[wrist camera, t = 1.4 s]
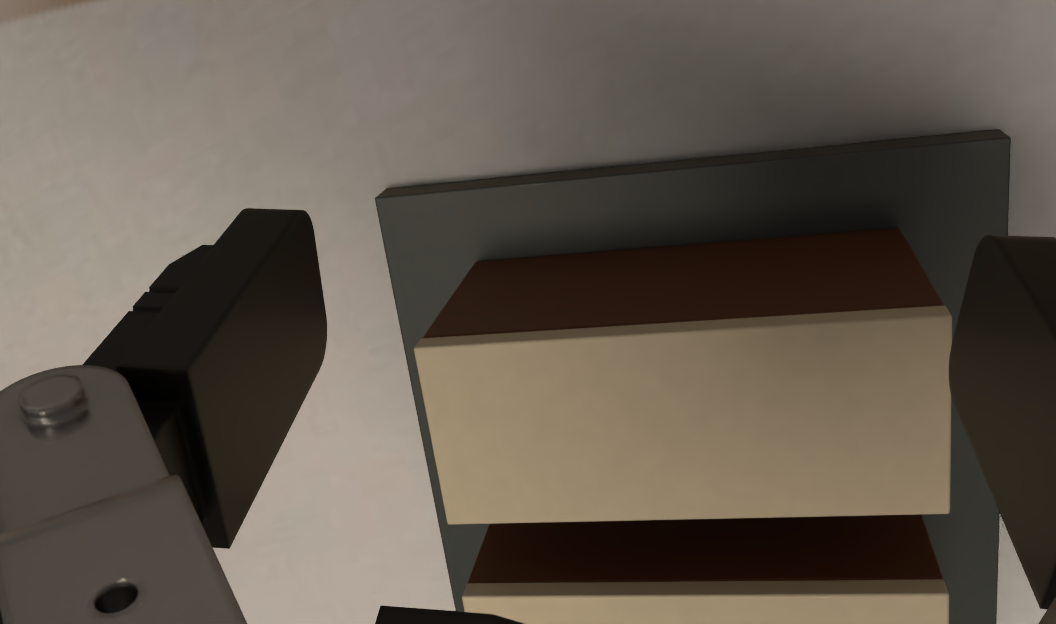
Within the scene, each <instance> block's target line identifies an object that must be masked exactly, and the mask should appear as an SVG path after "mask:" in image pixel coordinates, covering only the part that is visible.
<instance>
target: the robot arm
mask: <svg viewBox="0 0 1056 624" xmlns="http://www.w3.org/2000/svg"><path fill="white" fill-rule="evenodd" d="M149 289H150V290H149V292H145V293H144V294H143V295H142V296H141V298H140V299H139V300H138V301H137V302H136V303H135V305H134V306H133V311H129V312H128V313H127V314H126V315H125V316H124V317H123V318H122V320H121V321H120V322H119V323H118V324H117V325H116V327H115V328H114V329H113V330H112V331H111V332H110V334H109V335H108V336H107V337H106V338H105V339H104V340H103V342H102V343H101V344H100V345H99V346H98V347H97V349H96V350H95V351H94V352H93V353H92V354H91V356H90V357H89V358H88V359H87V360H86V361H85V363H84V364H83V365H76V366H66V367H59V368H54V369H50V370H46V371H43V372H40V373H37V374H33V375H31V376H28V377H26V378H24V379H21V380H19V381H17V382H15V383H13V384H11V385H10V386H8V387H6V388H5V389H3V390H2V391H0V624H247V622H246V620H245V618H244V616H243V614H242V611H241V609H240V607H239V605H238V603H237V600H236V598H235V596H234V594H233V592H232V589H231V587H230V585H229V583H228V581H227V578H226V576H225V574H224V572H223V570H222V568H221V565H220V563H219V561H218V559H217V557H216V554H215V552H214V550H213V548H212V547H214V548H228V549H229V548H230V546H231V544H232V542H233V540H234V538H235V536H236V535H237V533H238V531H239V529H240V527H241V525H242V523H243V521H244V519H245V517H246V515H247V513H248V511H249V509H250V507H251V505H252V503H253V501H254V499H255V497H256V495H257V493H258V491H259V489H260V487H261V485H262V483H263V481H264V479H265V477H266V475H267V473H268V471H269V469H270V467H271V465H272V463H273V461H274V459H275V457H276V455H277V453H278V451H279V449H280V447H281V445H282V443H283V441H284V439H285V437H286V435H287V433H288V431H289V429H290V427H291V425H292V423H293V421H294V419H295V417H296V415H297V413H298V411H299V409H300V407H301V405H302V403H303V401H304V399H305V397H306V395H307V393H308V391H309V389H310V387H311V385H312V383H313V381H314V380H315V378H316V376H317V374H318V372H319V370H320V367H321V365H322V362H323V359H324V355H325V349H326V341H327V320H326V312H325V305H324V298H323V291H322V284H321V277H320V270H319V263H318V256H317V249H316V242H315V235H314V229H313V225H312V221H311V219H310V216H309V215H308V213H307V212H306V211H304V210H282V209H252V208H246V209H244V210H242V211H241V212H240V213H239V215H238V216H237V217H236V218H235V219H234V221H233V222H232V223H231V224H230V226H229V227H228V228H227V229H226V231H225V232H224V233H223V234H222V236H221V237H220V238H219V239H218V240H217V242H216V243H215V244H214V245H202V246H200V247H198V248H196V249H195V250H193V251H191V252H190V253H188V254H186V255H184V256H183V257H181V258H179V259H178V260H176V261H174V262H172V263H171V264H169V265H168V266H167V267H166V269H165V270H164V271H163V272H162V273H161V274H160V276H159V277H158V278H157V279H156V280H155V281H154V283H153V284H152V285H151V286H150V287H149ZM949 387H950V393H951V397H952V400H953V403H954V405H955V408H956V410H957V412H958V415H959V417H960V420H961V422H962V424H963V427H964V429H965V431H966V434H967V436H968V438H969V441H970V443H971V446H972V448H973V450H974V453H975V455H976V457H977V460H978V462H979V465H980V467H981V469H982V472H983V474H984V476H985V479H986V481H987V484H988V486H989V488H990V491H991V493H992V495H993V498H994V500H995V502H996V505H997V507H998V510H999V512H1000V514H1001V517H1002V519H1003V521H1004V524H1005V526H1006V529H1007V531H1008V533H1009V536H1010V538H1011V540H1012V543H1013V545H1014V547H1015V550H1016V552H1017V555H1018V557H1019V559H1020V562H1021V564H1022V566H1023V569H1024V571H1025V574H1026V576H1027V578H1028V581H1029V583H1030V585H1031V588H1032V590H1033V592H1034V595H1035V597H1036V600H1037V602H1038V604H1039V607H1040V609H1048V610H1047V611H1046V613H1045V614H1044V616H1043V617H1042V619H1041V621H1040V622H1039V624H1056V238H1054V237H1029V236H999V235H987V236H984V237H983V238H982V239H981V241H980V242H979V244H978V246H977V248H976V251H975V254H974V257H973V261H972V265H971V269H970V273H969V277H968V281H967V285H966V289H965V293H964V297H963V301H962V305H961V309H960V313H959V317H958V321H957V325H956V330H955V334H954V338H953V342H952V346H951V351H950V357H949ZM375 624H524V623H521V622H517V621H514V620H511V619H507V618H504V617H501V616H497V615H494V614H484V613H471V612H458V611H444V610H431V609H418V608H404V607H391V606H380V610H379V613H378V616H377V620H376V623H375Z"/></svg>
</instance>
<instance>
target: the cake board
mask: <svg viewBox="0 0 1056 624" xmlns="http://www.w3.org/2000/svg"><path fill="white" fill-rule="evenodd" d="M1010 143H1011V139H1010V137H1009V136H1008V135H1006V134H1005V133H1004V132H1002V131H1001V130H999V129H998V130H987V131H977V132H967V133H957V134H946V135H936V136H926V137H915V138H905V139H895V140H885V141H874V142H864V143H854V144H844V145H833V146H823V147H813V148H802V149H792V150H782V151H772V152H761V153H751V154H741V155H730V156H720V157H710V158H700V159H689V160H679V161H669V162H659V163H648V164H638V165H628V166H617V167H607V168H597V169H587V170H576V171H566V172H556V173H546V174H535V175H525V176H515V177H504V178H494V179H484V180H474V181H463V182H453V183H443V184H432V185H422V186H412V187H402V188H391V189H386V190H384V191H383V192H382V193H381V194H379V195H378V196H377V197H376V198H375V202H376V207H377V212H378V217H379V222H380V227H381V232H382V237H383V242H384V247H385V253H386V258H387V263H388V268H389V273H390V278H391V283H392V288H393V293H394V298H395V303H396V309H397V314H398V319H399V324H400V329H401V334H402V339H403V344H404V349H405V354H406V359H407V365H408V370H409V375H410V380H411V385H412V390H413V395H414V400H415V405H416V410H417V415H418V421H419V426H420V431H421V436H422V441H423V446H424V451H425V456H426V461H427V466H428V471H429V476H430V482H431V487H432V492H433V497H434V502H435V507H436V512H437V517H438V522H439V527H440V532H441V538H442V543H443V548H444V553H445V558H446V563H447V568H448V573H449V578H450V583H451V588H452V594H453V599H454V604H455V609H456V611H458V612H465V611H464V605H463V600H462V596H463V594H464V591H465V588H466V586H467V584H468V579H469V577H470V574H471V571H472V569H473V566H474V563H475V561H476V558H477V555H478V553H479V550H480V547H481V545H482V542H483V540H484V537H485V534H486V532H487V529H488V526H489V524H448V523H447V518H446V513H445V508H444V503H443V498H442V492H441V487H440V482H439V477H438V472H437V466H436V461H435V456H434V451H433V446H432V441H431V435H430V430H429V425H428V420H427V415H426V409H425V404H424V399H423V394H422V389H421V384H420V378H419V373H418V368H417V363H416V358H415V352H414V348H415V346H416V345H417V343H418V342H419V341H420V339H422V338H423V336H424V334H425V333H426V332H427V330H428V329H429V327H430V326H431V324H432V323H433V322H434V320H435V319H436V317H437V316H438V314H439V313H440V312H441V310H442V309H443V307H444V306H445V305H446V303H447V302H448V300H449V299H450V297H451V296H452V295H453V293H454V292H455V290H456V289H457V287H458V286H459V285H460V283H461V282H462V280H463V279H464V277H465V276H466V275H467V273H468V272H469V270H470V269H471V267H472V266H473V265H474V263H475V262H477V261H489V260H502V259H515V258H527V257H540V256H553V255H565V254H578V253H590V252H603V251H616V250H628V249H641V248H653V247H666V246H679V245H691V244H704V243H716V242H729V241H742V240H754V239H767V238H779V237H792V236H805V235H817V234H830V233H842V232H855V231H868V230H880V229H893V228H899V229H900V230H901V231H902V233H903V235H904V237H905V238H906V240H907V242H908V243H909V245H910V247H911V249H912V250H913V252H914V254H915V255H916V257H917V259H918V261H919V262H920V264H921V266H922V267H923V269H924V271H925V273H926V274H927V276H928V278H929V279H930V281H931V283H932V285H933V286H934V288H935V290H936V291H937V293H938V295H939V297H940V298H941V300H942V302H943V303H944V305H945V306H946V307H947V309H948V311H949V312H950V314H951V316H952V342H953V338H954V334H955V330H956V325H957V321H958V317H959V313H960V309H961V305H962V301H963V297H964V293H965V289H966V285H967V281H968V277H969V273H970V269H971V265H972V261H973V257H974V254H975V251H976V248H977V246H978V244H979V242H980V241H981V239H982V238H983V237H984V236H987V235H999V236H1008V210H1009V176H1010ZM999 514H1000V512H999V510H998V507H997V505H996V502H995V500H994V498H993V495H992V493H991V491H990V488H989V486H988V484H987V481H986V479H985V476H984V474H983V472H982V469H981V467H980V465H979V462H978V460H977V457H976V455H975V453H974V450H973V448H972V446H971V443H970V441H969V438H968V436H967V434H966V431H965V429H964V427H963V424H962V422H961V420H960V417H959V415H958V412H957V410H956V408H955V405H954V403H953V400H952V397H951V471H950V512H949V513H948V514H922V517H923V520H924V523H925V525H926V528H927V531H928V534H929V537H930V540H931V543H932V546H933V549H934V552H935V555H936V558H937V561H938V564H939V567H940V569H941V572H942V575H943V578H944V582H945V585H946V588H947V591H948V594H949V624H996V615H997V581H998V548H999Z"/></svg>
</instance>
